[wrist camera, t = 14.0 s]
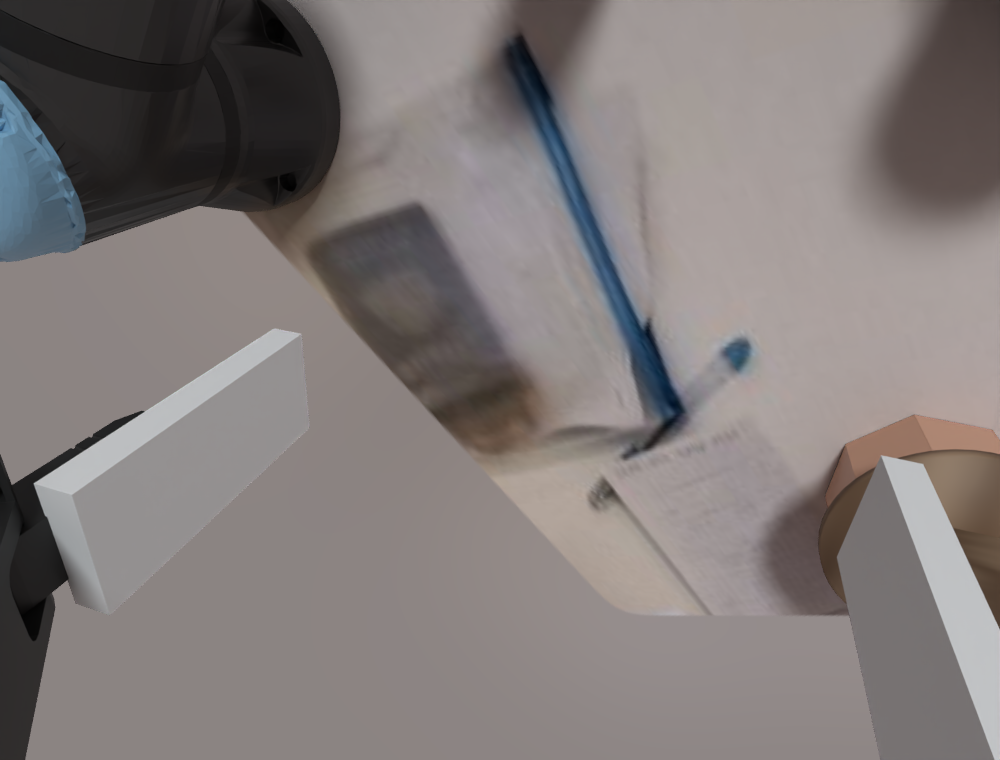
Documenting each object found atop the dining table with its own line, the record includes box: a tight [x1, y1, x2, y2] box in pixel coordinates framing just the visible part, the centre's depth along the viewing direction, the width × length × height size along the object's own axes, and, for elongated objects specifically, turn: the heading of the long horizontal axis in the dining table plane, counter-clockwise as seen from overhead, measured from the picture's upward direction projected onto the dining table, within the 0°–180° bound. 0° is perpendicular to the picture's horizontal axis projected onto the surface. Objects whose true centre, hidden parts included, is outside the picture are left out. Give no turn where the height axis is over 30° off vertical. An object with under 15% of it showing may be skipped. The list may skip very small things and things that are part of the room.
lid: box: [818, 449, 1000, 628], centre depth 36 cm, size 14×14×8 cm
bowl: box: [825, 415, 1000, 507], centre depth 42 cm, size 11×11×6 cm
